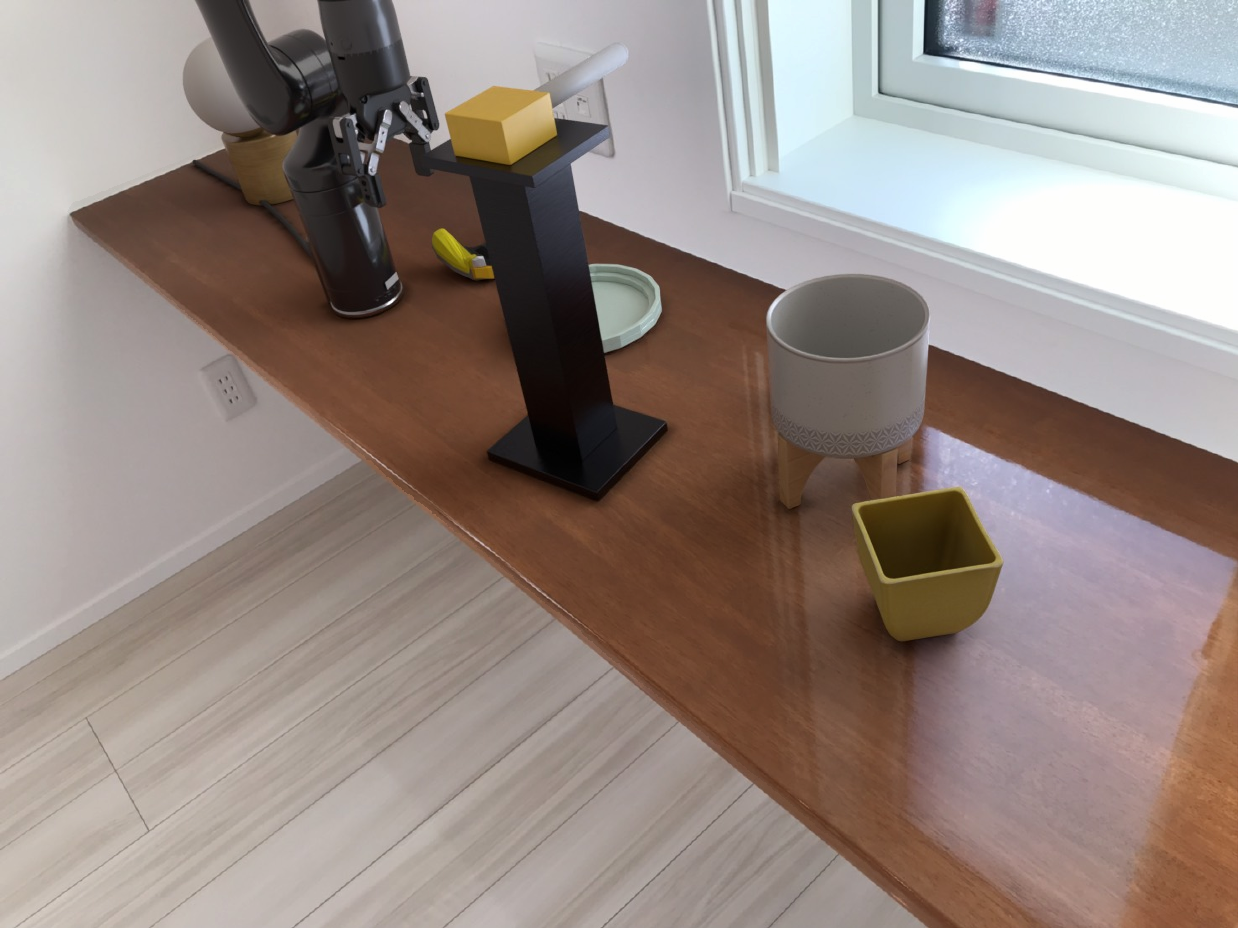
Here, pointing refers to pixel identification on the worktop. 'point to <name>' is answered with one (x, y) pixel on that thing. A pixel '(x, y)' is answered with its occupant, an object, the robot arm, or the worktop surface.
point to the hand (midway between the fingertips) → (402, 190)
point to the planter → (846, 377)
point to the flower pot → (926, 561)
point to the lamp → (237, 127)
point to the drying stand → (552, 317)
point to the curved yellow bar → (462, 256)
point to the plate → (624, 303)
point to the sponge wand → (522, 111)
